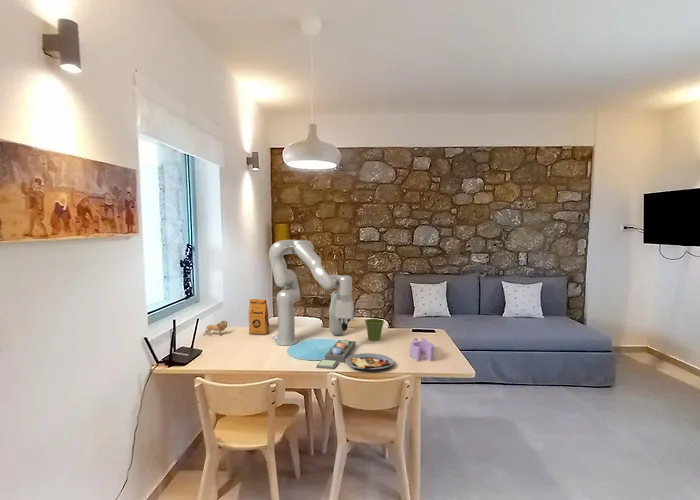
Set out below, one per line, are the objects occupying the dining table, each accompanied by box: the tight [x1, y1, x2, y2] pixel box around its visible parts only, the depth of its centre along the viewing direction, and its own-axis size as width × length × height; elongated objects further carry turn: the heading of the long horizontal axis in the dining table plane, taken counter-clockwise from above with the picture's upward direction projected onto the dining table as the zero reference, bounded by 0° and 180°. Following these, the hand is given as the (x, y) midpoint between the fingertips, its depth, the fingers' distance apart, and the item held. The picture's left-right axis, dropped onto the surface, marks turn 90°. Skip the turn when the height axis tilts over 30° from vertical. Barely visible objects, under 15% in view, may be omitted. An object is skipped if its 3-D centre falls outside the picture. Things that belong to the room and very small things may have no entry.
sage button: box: [340, 339, 350, 345], centre depth 244 cm, size 5×5×4 cm
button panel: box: [324, 339, 357, 363], centre depth 235 cm, size 10×28×3 cm, turn 167°
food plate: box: [344, 352, 395, 371], centre depth 218 cm, size 25×23×4 cm
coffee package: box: [248, 298, 270, 336], centre depth 274 cm, size 10×12×22 cm
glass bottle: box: [328, 289, 346, 336], centre depth 271 cm, size 10×10×28 cm
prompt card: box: [315, 359, 340, 370], centre depth 217 cm, size 9×9×1 cm
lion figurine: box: [202, 320, 228, 337], centre depth 270 cm, size 15×5×9 cm, turn 104°
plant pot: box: [364, 318, 385, 341], centre depth 262 cm, size 12×12×11 cm
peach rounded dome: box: [337, 342, 346, 350], centre depth 235 cm, size 5×5×4 cm
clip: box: [409, 337, 435, 362], centre depth 232 cm, size 20×12×7 cm, turn 179°
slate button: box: [331, 346, 342, 355], centre depth 227 cm, size 5×5×4 cm
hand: (344, 330), depth 244 cm, fingers closed
